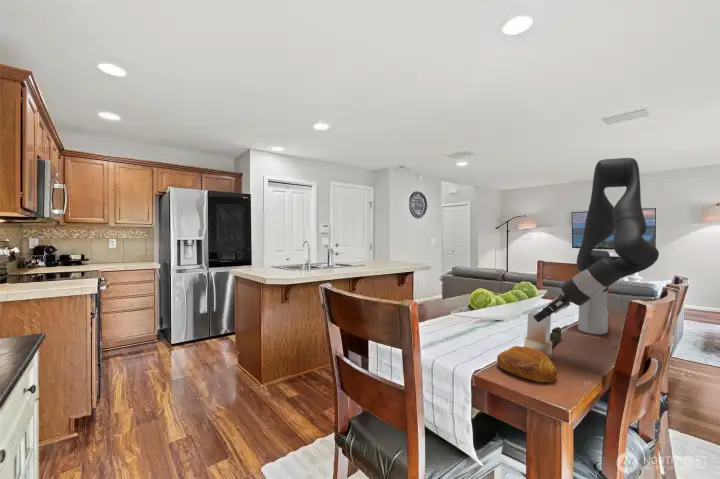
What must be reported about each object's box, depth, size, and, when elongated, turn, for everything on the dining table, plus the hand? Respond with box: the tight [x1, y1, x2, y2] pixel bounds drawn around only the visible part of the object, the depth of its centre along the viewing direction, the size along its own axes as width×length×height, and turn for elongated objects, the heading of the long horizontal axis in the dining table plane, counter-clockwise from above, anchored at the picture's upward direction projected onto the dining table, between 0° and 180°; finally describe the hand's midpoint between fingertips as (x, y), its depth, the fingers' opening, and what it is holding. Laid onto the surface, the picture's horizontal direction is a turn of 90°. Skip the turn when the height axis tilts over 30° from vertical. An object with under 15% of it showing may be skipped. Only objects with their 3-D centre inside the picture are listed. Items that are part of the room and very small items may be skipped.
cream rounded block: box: [523, 336, 553, 360], centre depth 107 cm, size 8×8×8 cm
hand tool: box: [550, 326, 562, 347], centre depth 119 cm, size 19×4×5 cm, turn 133°
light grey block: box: [526, 310, 552, 345], centre depth 107 cm, size 5×5×9 cm
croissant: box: [496, 345, 558, 384], centre depth 95 cm, size 14×16×8 cm
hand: (539, 316), depth 107 cm, fingers open, 8 cm apart
